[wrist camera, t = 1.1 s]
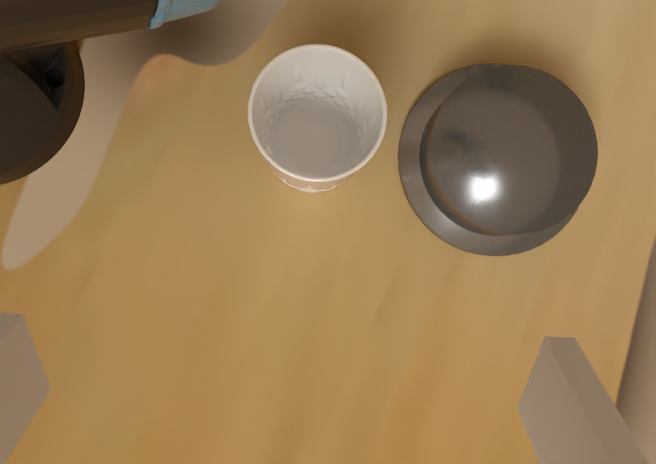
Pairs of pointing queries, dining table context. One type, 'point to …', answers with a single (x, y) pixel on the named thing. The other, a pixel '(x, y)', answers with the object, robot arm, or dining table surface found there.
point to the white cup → (317, 116)
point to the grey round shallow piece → (497, 158)
